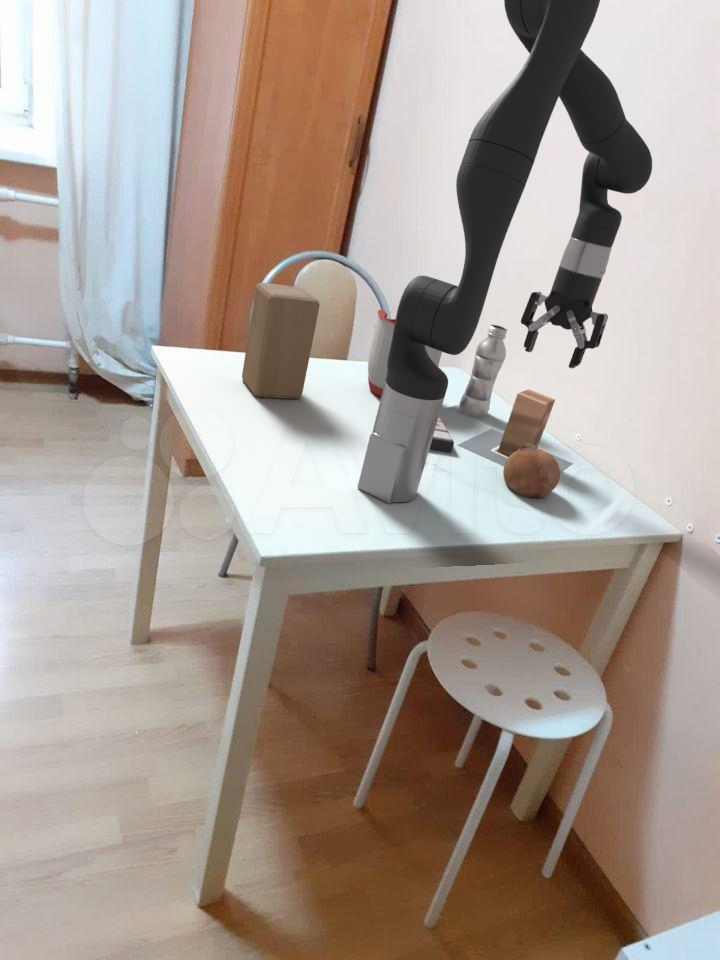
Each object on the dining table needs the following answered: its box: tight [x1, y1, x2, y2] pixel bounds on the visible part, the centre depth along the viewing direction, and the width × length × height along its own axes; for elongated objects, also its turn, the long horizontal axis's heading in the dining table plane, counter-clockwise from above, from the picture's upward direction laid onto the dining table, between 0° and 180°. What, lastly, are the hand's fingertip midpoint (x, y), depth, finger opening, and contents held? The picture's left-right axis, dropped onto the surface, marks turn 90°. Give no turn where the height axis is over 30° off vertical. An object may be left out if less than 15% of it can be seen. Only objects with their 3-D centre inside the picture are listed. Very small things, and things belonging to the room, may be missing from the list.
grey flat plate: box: [457, 428, 574, 474], centre depth 138 cm, size 16×18×1 cm
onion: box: [502, 443, 561, 500], centre depth 123 cm, size 10×9×10 cm
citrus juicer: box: [367, 308, 443, 398], centre depth 154 cm, size 16×17×20 cm
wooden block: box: [241, 282, 321, 400], centre depth 139 cm, size 10×10×20 cm
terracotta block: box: [507, 388, 556, 434], centre depth 134 cm, size 6×6×6 cm
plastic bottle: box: [458, 324, 508, 419], centre depth 151 cm, size 6×7×20 cm
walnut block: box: [498, 422, 545, 457], centre depth 137 cm, size 6×6×6 cm
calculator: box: [429, 417, 455, 454], centre depth 137 cm, size 11×4×15 cm
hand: (549, 359), depth 130 cm, fingers open, 8 cm apart
